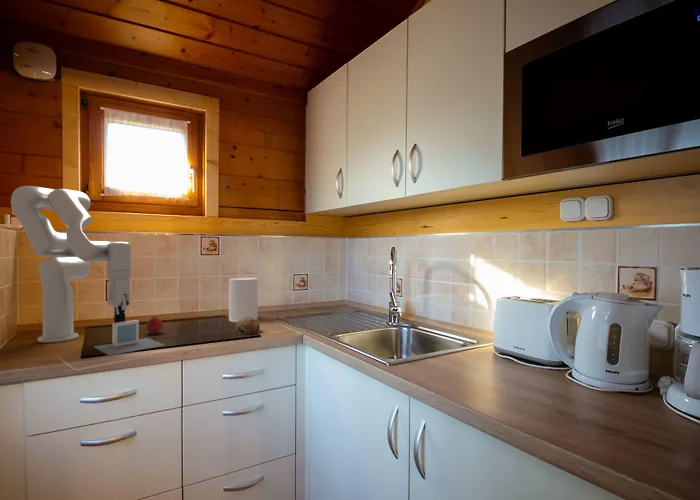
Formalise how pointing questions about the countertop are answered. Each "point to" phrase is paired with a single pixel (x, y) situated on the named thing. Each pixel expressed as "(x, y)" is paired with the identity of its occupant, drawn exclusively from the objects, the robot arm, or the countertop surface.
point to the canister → (243, 298)
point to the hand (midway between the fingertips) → (119, 324)
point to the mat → (129, 346)
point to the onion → (154, 325)
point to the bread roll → (247, 326)
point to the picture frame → (125, 332)
